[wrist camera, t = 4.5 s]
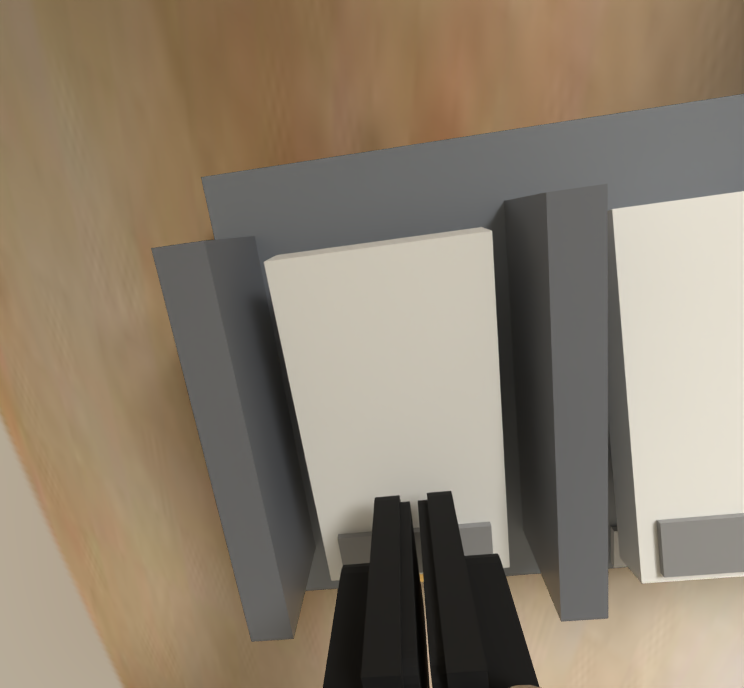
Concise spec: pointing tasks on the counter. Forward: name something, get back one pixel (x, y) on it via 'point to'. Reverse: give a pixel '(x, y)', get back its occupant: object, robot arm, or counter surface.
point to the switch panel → (514, 326)
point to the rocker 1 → (396, 383)
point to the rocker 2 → (678, 386)
